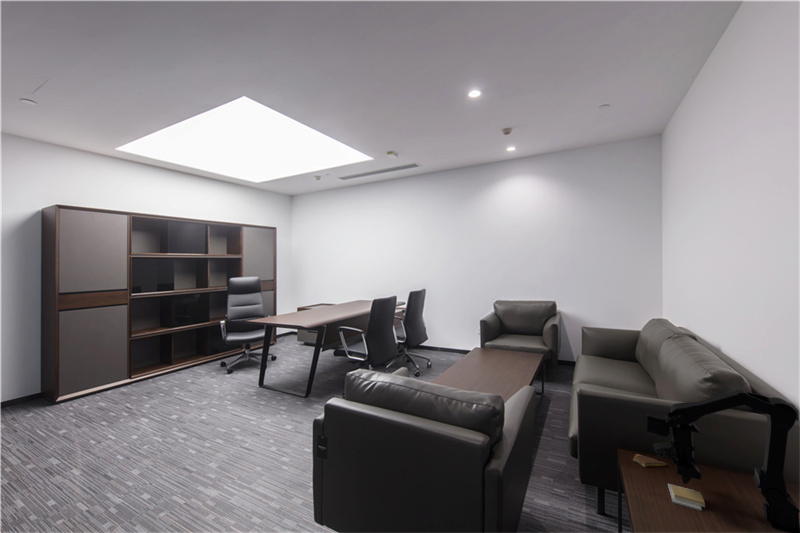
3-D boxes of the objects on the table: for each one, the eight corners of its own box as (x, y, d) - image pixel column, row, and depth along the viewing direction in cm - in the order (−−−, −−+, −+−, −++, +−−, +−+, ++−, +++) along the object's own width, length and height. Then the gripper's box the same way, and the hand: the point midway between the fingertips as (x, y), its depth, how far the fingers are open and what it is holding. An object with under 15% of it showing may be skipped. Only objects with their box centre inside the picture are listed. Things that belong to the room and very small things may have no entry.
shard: (667, 467, 133) (667, 462, 133) (665, 475, 128) (665, 470, 128) (636, 456, 141) (636, 452, 141) (632, 463, 135) (632, 459, 136)
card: (700, 492, 114) (704, 502, 108) (700, 496, 113) (705, 507, 108) (671, 484, 118) (674, 494, 113) (671, 489, 118) (674, 498, 113)
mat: (694, 491, 117) (693, 490, 117) (701, 510, 108) (701, 509, 108) (667, 485, 121) (667, 483, 121) (673, 502, 112) (673, 501, 112)
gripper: (651, 424, 128) (653, 463, 128) (657, 446, 113) (660, 490, 112) (688, 431, 122) (690, 472, 122) (700, 455, 107) (702, 502, 106)
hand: (684, 483), depth 116 cm, fingers closed
